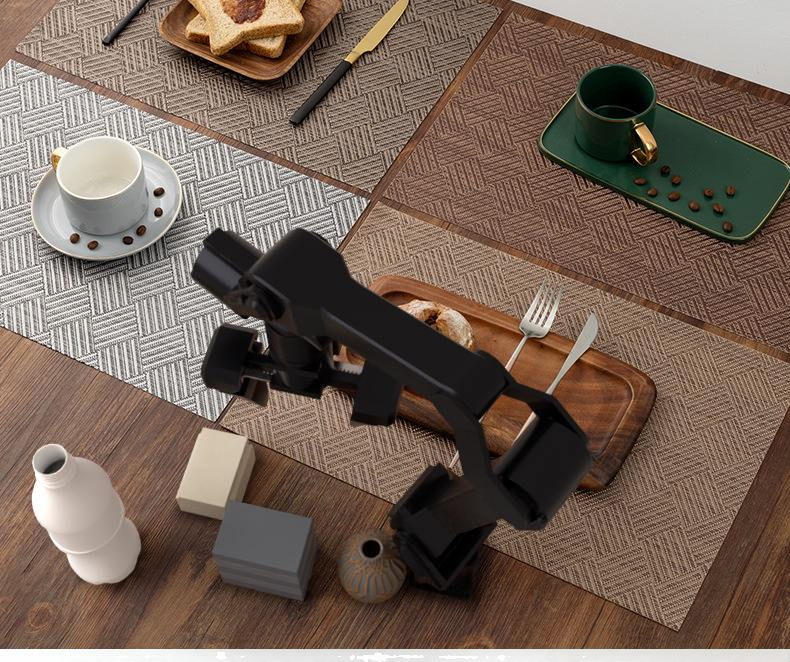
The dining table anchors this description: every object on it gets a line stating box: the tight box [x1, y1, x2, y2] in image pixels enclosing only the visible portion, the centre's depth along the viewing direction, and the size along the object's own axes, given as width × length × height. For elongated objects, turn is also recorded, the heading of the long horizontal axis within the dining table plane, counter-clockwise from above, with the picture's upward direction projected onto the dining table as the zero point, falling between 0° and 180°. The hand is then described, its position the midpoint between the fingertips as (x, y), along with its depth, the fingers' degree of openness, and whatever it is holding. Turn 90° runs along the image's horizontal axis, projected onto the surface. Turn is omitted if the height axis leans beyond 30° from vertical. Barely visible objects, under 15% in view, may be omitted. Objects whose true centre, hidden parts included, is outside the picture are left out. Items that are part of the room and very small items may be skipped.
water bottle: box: [31, 443, 142, 586], centre depth 107 cm, size 7×7×25 cm
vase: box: [337, 528, 408, 604], centre depth 113 cm, size 7×7×9 cm
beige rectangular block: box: [175, 432, 256, 521], centre depth 120 cm, size 6×8×4 cm
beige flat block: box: [178, 426, 250, 511], centre depth 118 cm, size 8×5×1 cm, turn 167°
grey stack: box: [211, 500, 319, 602], centre depth 113 cm, size 8×6×9 cm, turn 77°
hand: (309, 412), depth 113 cm, fingers open, 9 cm apart
